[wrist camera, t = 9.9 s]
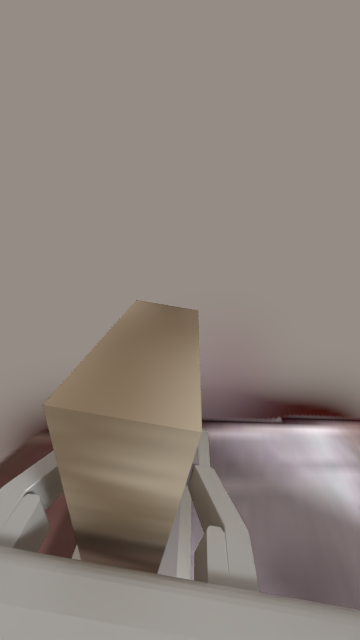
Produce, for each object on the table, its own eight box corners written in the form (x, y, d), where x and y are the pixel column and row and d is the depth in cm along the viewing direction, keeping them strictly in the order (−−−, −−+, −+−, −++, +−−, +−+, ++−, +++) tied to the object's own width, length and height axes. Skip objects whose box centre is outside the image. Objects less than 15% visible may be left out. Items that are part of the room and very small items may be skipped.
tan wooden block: (164, 469, 15) (198, 310, 9) (147, 605, 9) (202, 432, 3) (128, 463, 15) (136, 300, 9) (89, 595, 9) (42, 404, 3)
